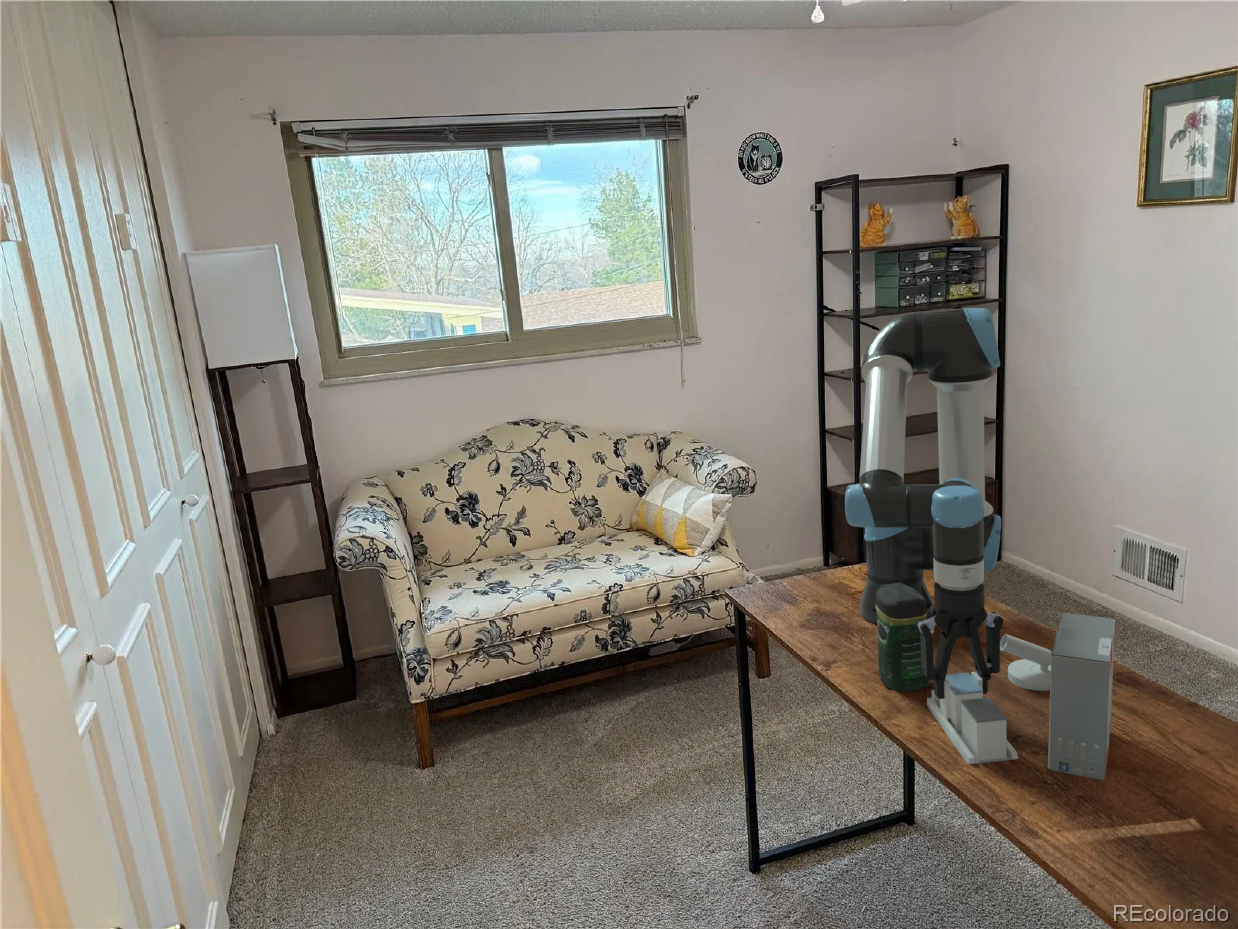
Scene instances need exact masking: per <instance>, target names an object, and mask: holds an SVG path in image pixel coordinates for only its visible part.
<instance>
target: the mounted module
mask: <svg viewBox="0 0 1238 929" xmlns="http://www.w3.org/2000/svg"><path fill="white" fill-rule="evenodd" d="M961 721H962V740H963V742H964V743H965V744H966V746H967V747H968V749H969V750H970V751H971V753H972V754H973V756H974V757H975V758H976V760H977V761H983V760H992V759H1001V758H1007V741H1008V740H1007V717H1006V715H1005V714H1004V712H1002V710H1001V709H1000V708H999V707H998V706H997V704H996V703H995V702H994V701H993V700H992V698H991V697H983V698H979V699H970V700H961Z"/></svg>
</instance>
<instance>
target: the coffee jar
mask: <svg viewBox="0 0 1238 929" xmlns="http://www.w3.org/2000/svg"><path fill="white" fill-rule="evenodd" d="M875 604H876V612H877V622H878V624H877V649H878V650H877V652H878V653H877V656H878V657H877V662H878V663H877V664H878V665H877V666H878V675H879V678H880V679H881V681H882V682H883V683H884V685H885V686H886V687H887V688H888V689H889V690H891V691H896V692H897V691H898V692H911V691H917V690H918V691H919V690H922V689H926V688H927V687H929V684H930V680H928V679H927V678H926V676H925V675H924V674H923V672H922V664H921V638H920V631H919V629H918V627H917V624H916V622H917V620H920V619H921V620H923V621H925V620H926V619H927V608H926V600H925V598H924V597H923V596H922V595H921V594H920V593H919V592H917V591H916V590H915V589H913V588H911V587H909V586H907V585H905V584H903V583H894V584H886V585H882V586H881V587H880V588H879V589H878V590H877V592H876V602H875Z"/></svg>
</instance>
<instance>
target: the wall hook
mask: <svg viewBox="0 0 1238 929" xmlns="http://www.w3.org/2000/svg"><path fill="white" fill-rule="evenodd" d="M1001 651H1002V652H1005V653H1007V654H1010V655H1013V656H1015V657H1018V658H1021V659H1018V660H1015V661H1013V662H1011V663H1010V664H1008V667H1007V678H1008V679H1009V681H1010V682H1011V683H1012V684H1014V685H1015V686H1016V687H1019V688H1022V689H1026V690H1029V691H1030V690H1031V691H1038V692H1040V691H1044V692H1045V691H1050V682H1051V653H1052V650H1050V649H1048V648H1046V647H1043V646H1040V645H1038V644H1035V643H1032V642H1029V641H1026V640H1023V639H1020V638H1018V637H1015V636H1012V635H1010V634H1008V633H1005V634H1004V635H1003V636H1002V637H1001V638H1000V652H1001Z"/></svg>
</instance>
